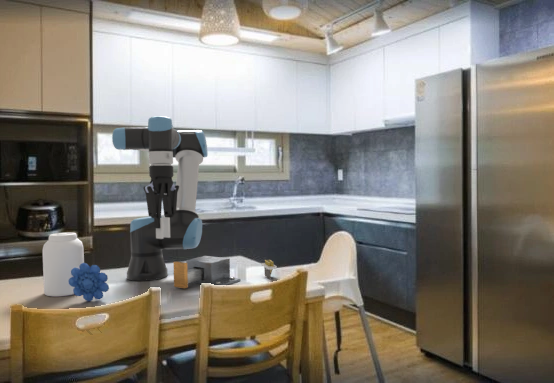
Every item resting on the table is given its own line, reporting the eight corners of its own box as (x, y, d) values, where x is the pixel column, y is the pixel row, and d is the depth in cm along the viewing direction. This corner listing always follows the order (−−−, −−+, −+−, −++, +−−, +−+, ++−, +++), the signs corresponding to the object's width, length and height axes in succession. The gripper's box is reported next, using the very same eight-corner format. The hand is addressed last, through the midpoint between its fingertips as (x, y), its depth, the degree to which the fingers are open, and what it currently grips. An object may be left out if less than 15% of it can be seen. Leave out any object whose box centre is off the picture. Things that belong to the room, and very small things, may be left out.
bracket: (176, 281, 163) (176, 259, 162) (199, 275, 173) (199, 254, 172) (218, 287, 152) (218, 264, 151) (240, 280, 162) (239, 258, 161)
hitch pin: (174, 286, 151) (173, 262, 151) (205, 277, 164) (204, 255, 164) (184, 288, 149) (184, 263, 148) (215, 279, 161) (214, 256, 161)
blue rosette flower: (66, 306, 133) (64, 266, 132) (70, 300, 139) (69, 262, 139) (107, 303, 135) (106, 264, 135) (110, 297, 142) (109, 260, 142)
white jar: (82, 295, 145) (80, 234, 145) (40, 298, 142) (37, 236, 141) (87, 286, 157) (85, 230, 157) (48, 289, 154) (46, 232, 153)
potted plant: (278, 272, 176) (277, 256, 176) (292, 282, 159) (292, 264, 159) (248, 275, 173) (248, 258, 173) (260, 285, 156) (259, 266, 156)
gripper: (150, 164, 135) (152, 241, 136) (186, 165, 148) (188, 235, 148) (134, 165, 139) (136, 240, 140) (170, 165, 152) (172, 234, 152)
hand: (163, 237), depth 144 cm, fingers open, 2 cm apart
